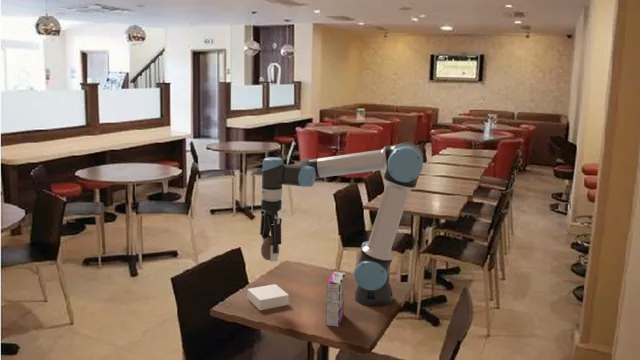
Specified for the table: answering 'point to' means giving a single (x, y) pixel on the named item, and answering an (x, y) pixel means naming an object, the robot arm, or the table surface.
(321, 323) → the table surface
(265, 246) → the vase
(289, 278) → the table surface
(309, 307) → the table surface
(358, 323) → the table surface
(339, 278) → the candy bar box
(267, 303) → the plinth
